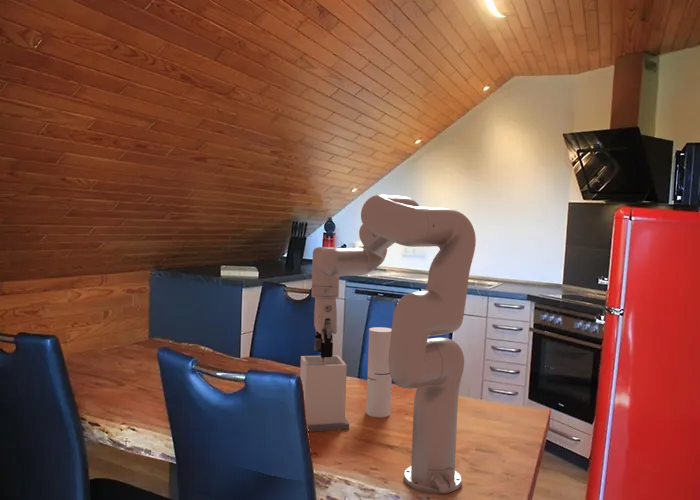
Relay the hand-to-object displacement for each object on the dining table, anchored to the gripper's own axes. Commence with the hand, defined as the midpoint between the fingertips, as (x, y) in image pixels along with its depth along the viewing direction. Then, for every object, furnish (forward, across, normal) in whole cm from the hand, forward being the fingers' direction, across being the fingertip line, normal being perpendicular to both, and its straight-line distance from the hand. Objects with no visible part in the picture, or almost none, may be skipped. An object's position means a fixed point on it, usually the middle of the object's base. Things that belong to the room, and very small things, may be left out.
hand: (323, 352), depth 157 cm
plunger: (+18, 0, 0) cm, 18 cm away
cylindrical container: (+20, +5, -18) cm, 27 cm away
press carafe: (+20, 0, 0) cm, 20 cm away
